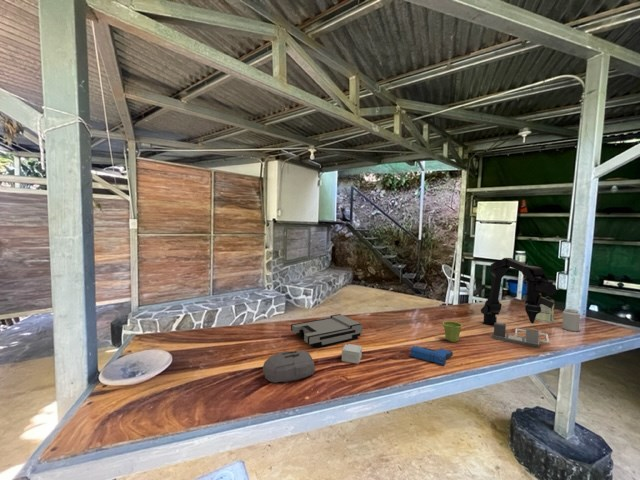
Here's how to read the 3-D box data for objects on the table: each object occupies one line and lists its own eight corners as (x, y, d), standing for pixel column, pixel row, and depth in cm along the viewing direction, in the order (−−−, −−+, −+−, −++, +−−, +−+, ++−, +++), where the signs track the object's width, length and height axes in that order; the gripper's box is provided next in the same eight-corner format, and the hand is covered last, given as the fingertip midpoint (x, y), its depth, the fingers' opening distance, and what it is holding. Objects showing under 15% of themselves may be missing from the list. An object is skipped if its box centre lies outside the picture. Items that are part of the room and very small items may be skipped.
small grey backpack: (304, 361, 120) (258, 370, 112) (305, 342, 120) (259, 350, 112) (318, 378, 107) (267, 389, 99) (318, 357, 106) (267, 366, 98)
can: (572, 328, 169) (572, 308, 168) (582, 332, 161) (583, 312, 161) (559, 327, 170) (559, 308, 169) (568, 331, 162) (569, 311, 162)
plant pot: (442, 342, 144) (443, 325, 144) (441, 335, 153) (442, 320, 153) (462, 344, 141) (463, 327, 141) (460, 338, 150) (460, 322, 150)
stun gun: (419, 340, 138) (410, 348, 126) (453, 348, 129) (447, 357, 117) (418, 349, 138) (409, 357, 126) (452, 357, 129) (446, 367, 117)
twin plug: (493, 335, 151) (494, 323, 151) (494, 332, 155) (495, 321, 155) (504, 337, 148) (505, 325, 148) (505, 334, 152) (505, 323, 152)
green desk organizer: (532, 316, 191) (532, 296, 190) (550, 319, 186) (551, 298, 186) (536, 321, 181) (537, 299, 181) (556, 323, 177) (557, 301, 177)
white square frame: (514, 337, 152) (514, 335, 152) (515, 329, 164) (515, 328, 164) (549, 343, 143) (549, 342, 143) (547, 335, 155) (547, 334, 155)
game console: (290, 337, 148) (291, 322, 148) (339, 327, 165) (340, 313, 165) (309, 352, 131) (309, 334, 130) (362, 339, 147) (362, 324, 147)
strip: (492, 338, 150) (492, 335, 150) (493, 333, 157) (494, 331, 157) (539, 348, 138) (539, 345, 138) (538, 342, 145) (538, 339, 145)
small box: (358, 364, 119) (359, 352, 119) (341, 361, 121) (341, 349, 121) (362, 356, 126) (362, 345, 126) (345, 354, 129) (345, 343, 128)
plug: (525, 341, 143) (526, 329, 143) (525, 338, 147) (526, 326, 147) (538, 343, 140) (538, 331, 140) (537, 340, 144) (538, 328, 144)
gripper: (555, 296, 131) (553, 329, 131) (552, 290, 145) (551, 319, 146) (525, 293, 137) (524, 324, 138) (525, 287, 152) (524, 315, 153)
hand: (532, 321), depth 143 cm, fingers open, 9 cm apart
